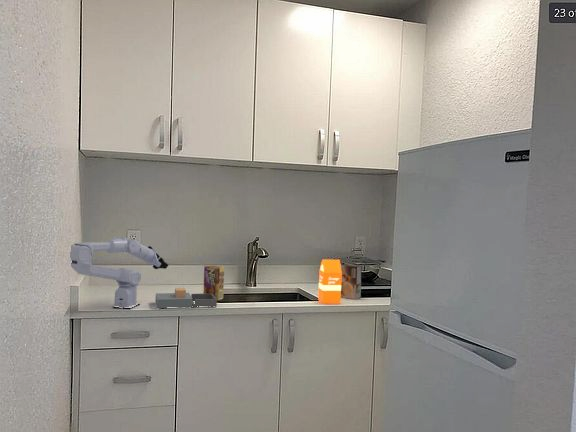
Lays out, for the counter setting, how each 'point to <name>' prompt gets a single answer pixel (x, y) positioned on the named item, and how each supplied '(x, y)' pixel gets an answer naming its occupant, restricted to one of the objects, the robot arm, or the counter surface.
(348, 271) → the coffee box
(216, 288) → the candy box
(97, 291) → the counter surface
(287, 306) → the counter surface
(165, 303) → the slate board
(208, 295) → the tray
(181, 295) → the orange block
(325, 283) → the orange juice
